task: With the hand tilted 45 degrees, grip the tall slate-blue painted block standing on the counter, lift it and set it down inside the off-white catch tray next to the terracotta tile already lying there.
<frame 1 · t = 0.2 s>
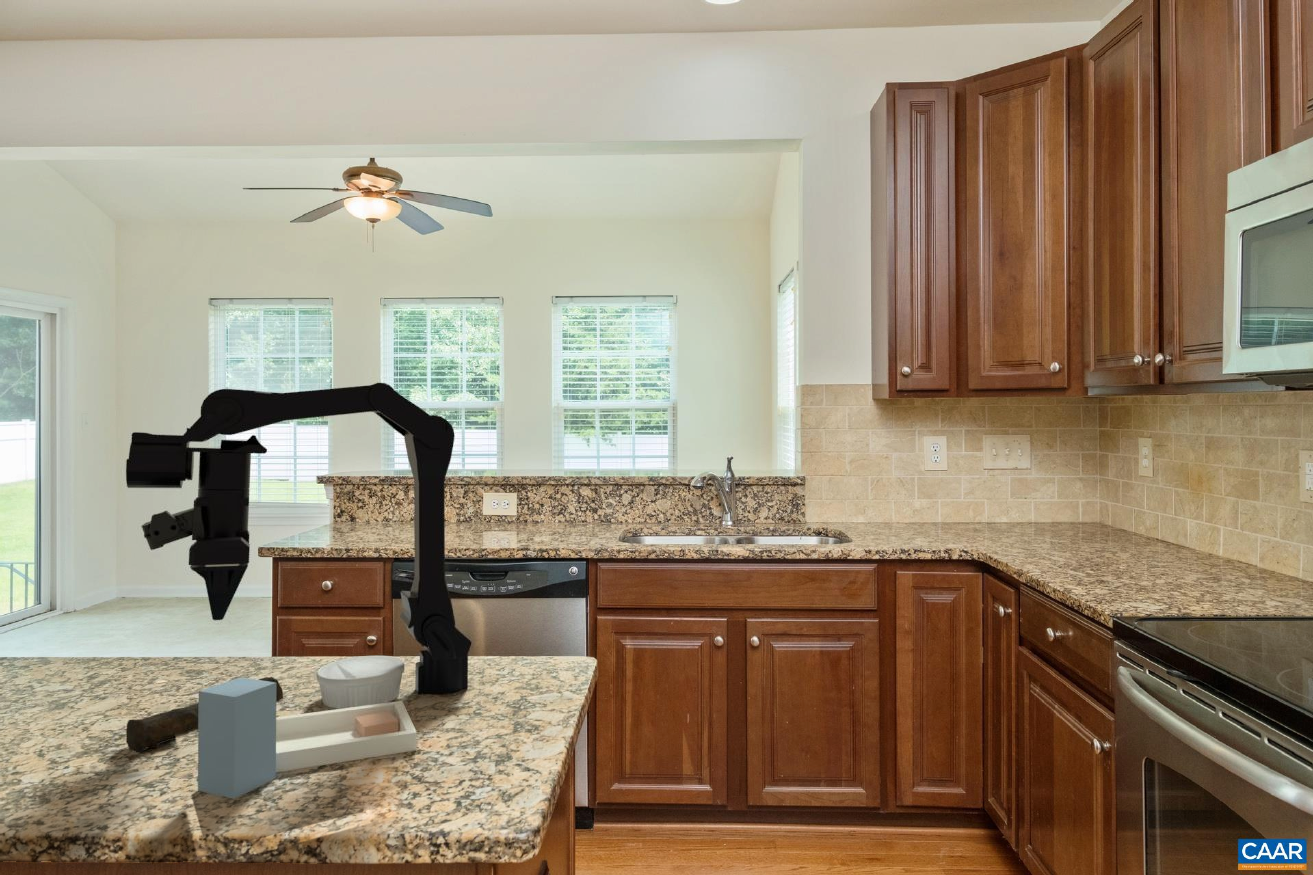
hand: (219, 612, 100), 14 cm above the countertop, tool pointing down, fingers open, 9 cm apart
blue block: (237, 793, 81), on the countertop
ramekin: (361, 705, 108), on the countertop
catch tray: (337, 751, 92), on the countertop
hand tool: (210, 729, 100), on the countertop
terracotta tile: (376, 730, 96), point 1 cm above the countertop, touching catch tray
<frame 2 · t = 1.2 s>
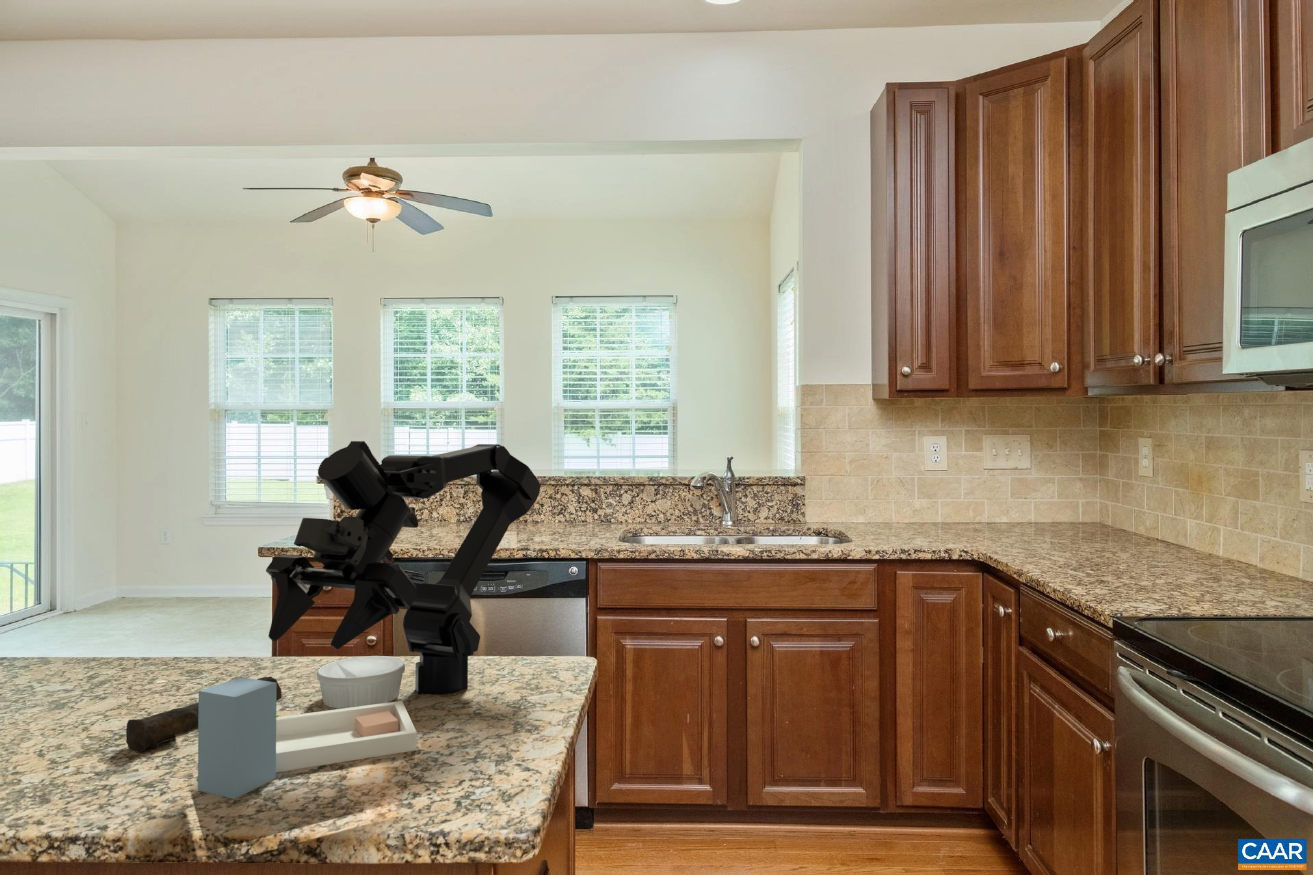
hand: (302, 643, 89), 13 cm above the countertop, tool tilted 45°, fingers open, 9 cm apart
nothing on the countertop moved.
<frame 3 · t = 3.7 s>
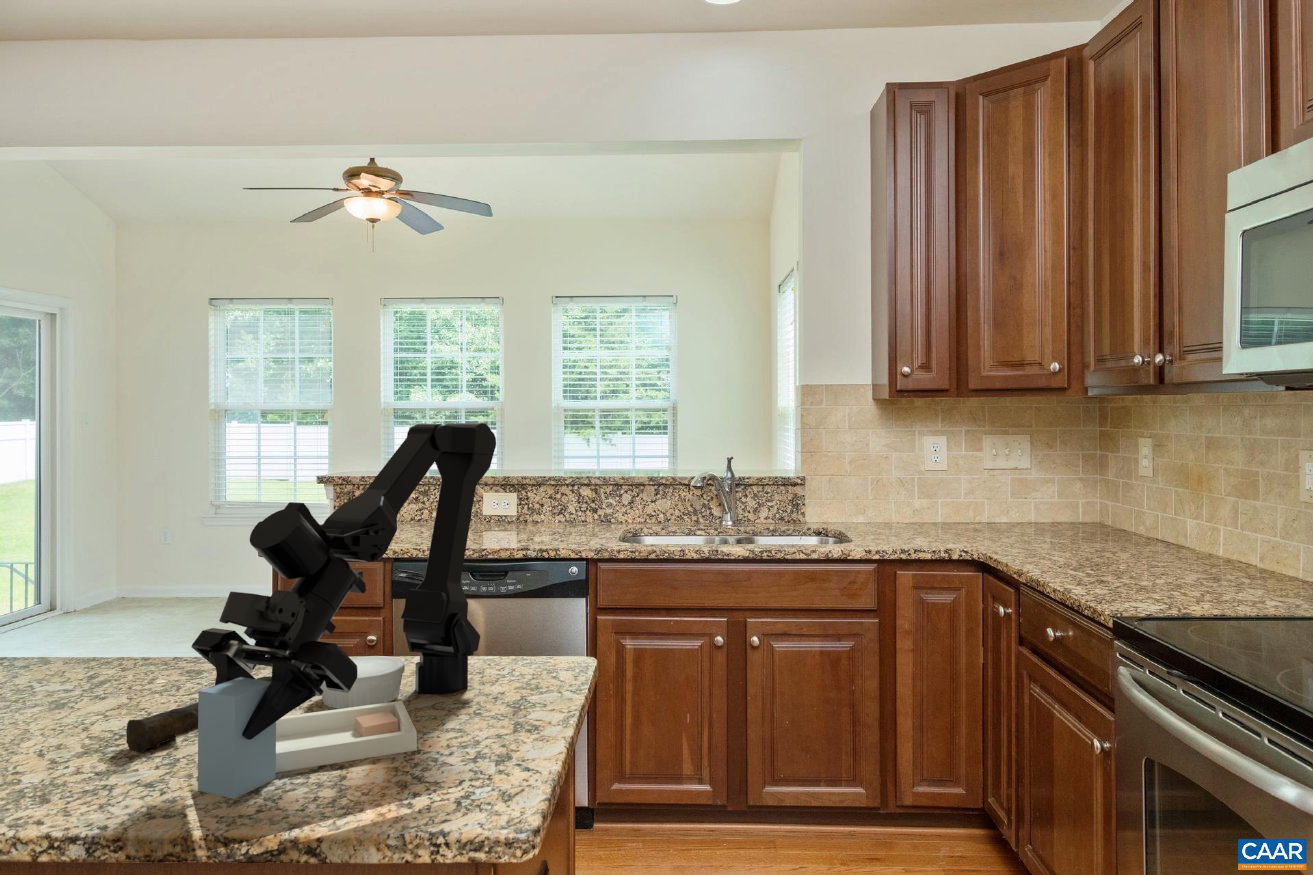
hand: (226, 733, 80), 7 cm above the countertop, tool tilted 45°, fingers closed on blue block, 5 cm apart
blue block: (237, 793, 81), on the countertop, touching gripper
everything else where it was.
when the fingers open (8 cm above the countertop, at t = 7.0 s): blue block stays where it is, resting on catch tray.
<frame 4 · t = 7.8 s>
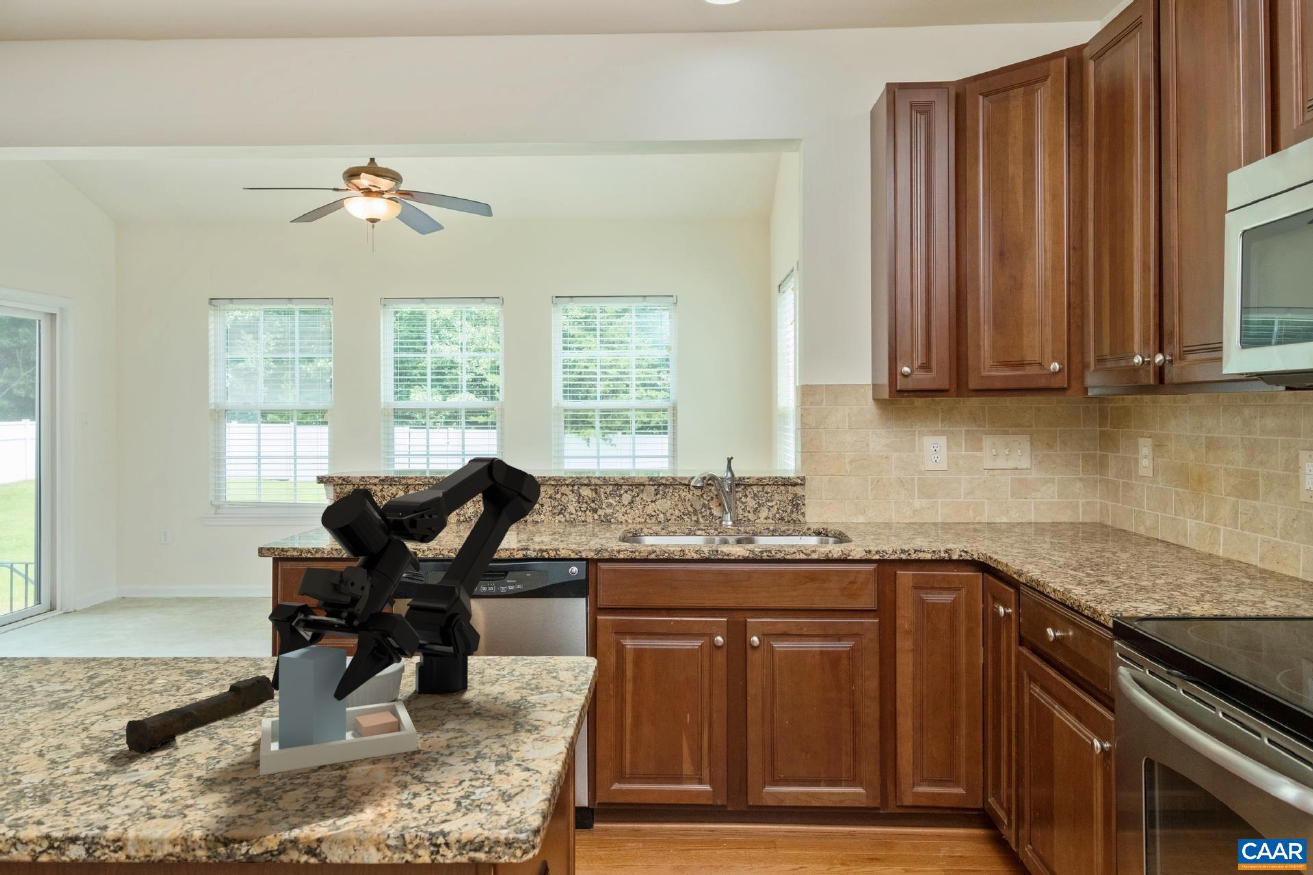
hand: (304, 693, 89), 8 cm above the countertop, tool tilted 45°, fingers open, 9 cm apart
blue block: (312, 748, 90), point 1 cm above the countertop, touching catch tray
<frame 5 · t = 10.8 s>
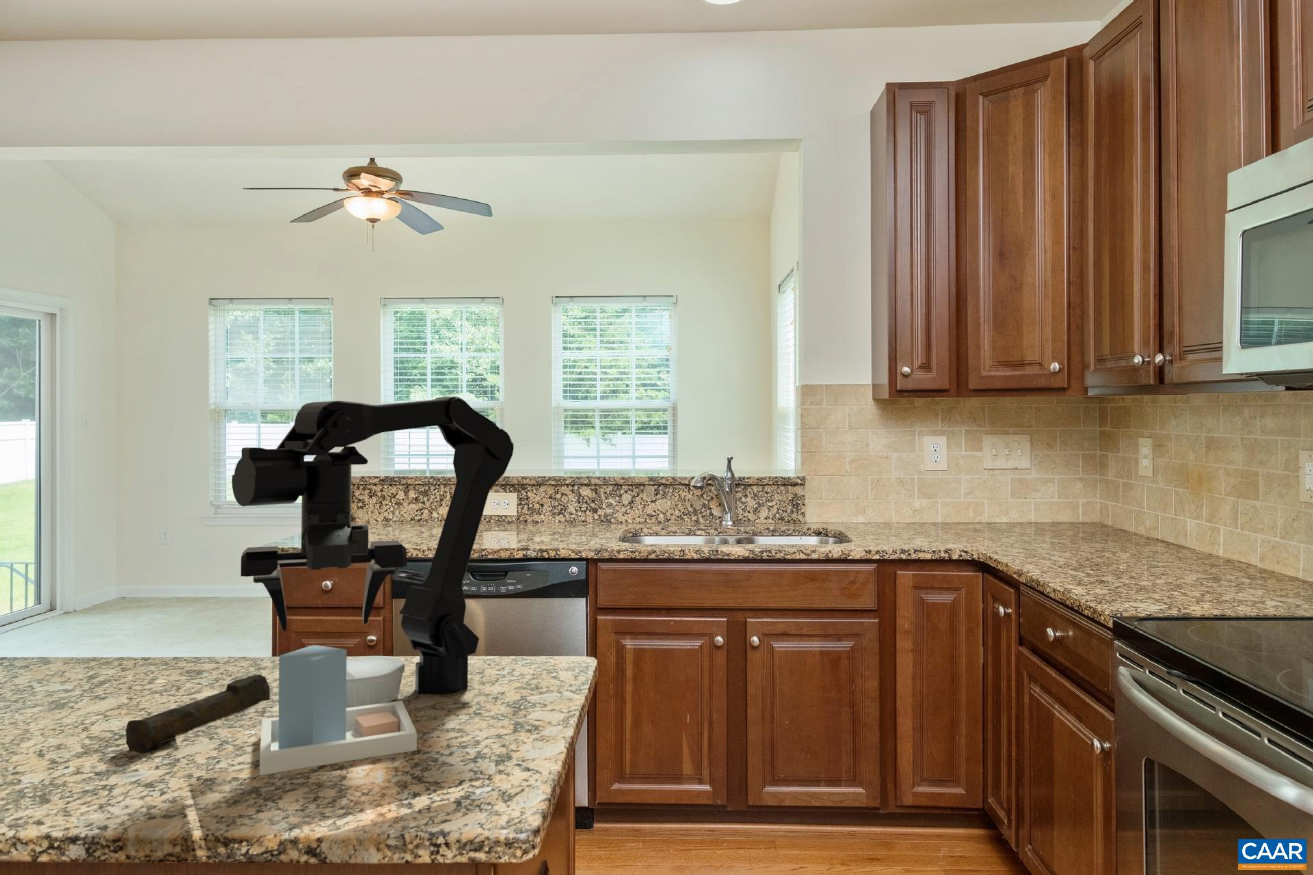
hand: (325, 626, 98), 13 cm above the countertop, tool pointing down, fingers open, 9 cm apart
at the end: blue block inside the target area on the catch tray (2.8 cm from its centre), point 1.0 cm above the catch tray's base; blue block tilted 0°; the gripper is holding nothing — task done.
